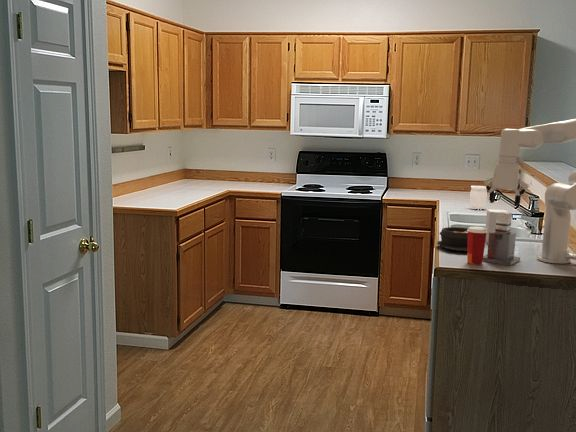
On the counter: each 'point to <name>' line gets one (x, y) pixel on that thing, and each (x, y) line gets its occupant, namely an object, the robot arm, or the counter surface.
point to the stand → (501, 249)
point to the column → (503, 223)
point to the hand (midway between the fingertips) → (504, 204)
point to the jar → (478, 196)
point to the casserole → (454, 238)
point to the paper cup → (476, 245)
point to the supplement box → (491, 221)
